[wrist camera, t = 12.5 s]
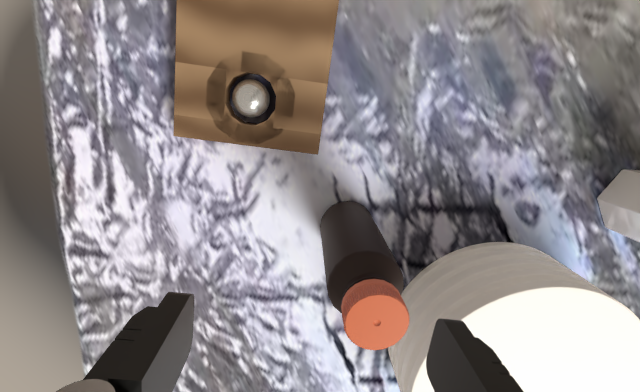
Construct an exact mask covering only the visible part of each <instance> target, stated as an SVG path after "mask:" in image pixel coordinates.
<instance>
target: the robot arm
mask: <svg viewBox="0 0 640 392" xmlns="http://www.w3.org/2000/svg"><path fill="white" fill-rule="evenodd" d="M193 320H194V295H193V294H187V293H177V292H168V293H167V294H166V296H165V297H164V299H163V300H162V301H161V303H160V304H159V306H158V307H146V308H144V309H143V310H141V311H140V312H138V313H137V314H135V315H134V316H132V318H131V319H130V320H129V321H128V323H127V324H126V325H125V327H124V328H123V331H121V332H120V333H119V334H118V335H117V337H116V338H115V341H113V342H112V343H111V344H110V346H109V347H108V348H107V350H106V351H105V352H104V353H103V355H102V356H101V357H100V359H99V360H98V361H97V362H96V364H95V365H94V366H93V368H92V369H91V370H90V371H89V373H88V374H87V375H86V377H85V378H84V379H83V380H81V381H77V382H74V383H72V384H69V385H67V386H65V387H63V388H61V389H59V390H58V391H56V392H172V391H173V389H174V387H175V384H176V382H177V380H178V378H179V375H180V373H181V371H182V369H183V367H184V364H185V362H186V360H187V358H188V355H189V352H190V349H191V344H192V338H193ZM426 369H427V374H428V378H429V380H430V382H431V385H432V387H433V389H434V391H435V392H524V391H523V390H522V389H521V387H520V386H519V385H518V383H517V382H516V381H515V379H514V378H513V377H512V376H510V372H509V371H508V370H507V368H506V367H505V366H504V365H502V362H501V360H500V359H499V357H498V356H497V355H496V353H495V352H494V351H493V349H492V348H490V347H489V346H488V345H487V344H485V343H484V342H483V341H482V340H481V339H479V338H475V337H474V336H473V334H472V333H471V331H470V330H469V329H468V327H467V326H466V324H465V323H464V322H463V321H461V320H451V319H438V320H437V321H436V324H435V327H434V331H433V335H432V339H431V342H430V346H429V350H428V354H427V359H426Z"/></svg>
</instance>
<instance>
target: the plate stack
mask: <svg viewBox="0 0 640 392" xmlns="http://www.w3.org/2000/svg"><path fill="white" fill-rule="evenodd" d="M401 297H402V299H403V301H404V303H405V305H406V307H407V309H408V312H409V318H410V319H409V320H410V321H409V323H410V324H409V326H408V329H407V331H406V333H405V335H404V336H403V337H402V338H401V339H400V340H399V341H398V342H397V343H395V344H394V345H393V346H390V347H388V352H389V357H390V360H391V363H392V366H393V369H394V372H395V376H396V379H397V381H398V385H399V388H400V391H401V392H435V391H434V389H433V387H432V385H431V382H430V380H429V378H428V374H427V369H426V359H427V354H428V350H429V346H430V342H431V339H432V335H433V331H434V327H435V324H436V321H437V320H438V319H451V320H461V321H463V322H464V323H465V324H466V326H467V327H468V329H469V330H470V331H471V333H472V334H473V336H474V337H475V338H479V339H481V340H482V341H483V342H484V343H485V344H487V345H488V346H489V347H490V348H492V349H493V351H494V352H495V353H496V355H497V356H498V357H499V359H500V360H501V362H502V365H504V366H505V367H506V368H507V370H508V371H509V372H510V376H512V377H513V378H514V379H515V381H516V382H517V383H518V385H519V386H520V387H521V389H522V390H523V391H524V392H640V320H639V318H638V317H637V316H636V315H635V314H634V313H633V312H632V311H631V310H630V309H628V308H627V307H626V306H624V305H623V304H622V303H620V302H619V301H617V300H616V299H614V298H612V297H611V296H609V295H607V294H606V293H605V292H603V291H602V290H600V289H599V288H597V287H596V286H594V285H593V284H591V283H589V282H588V281H587V280H585V279H584V278H582V277H581V276H579V275H578V274H576V273H574V272H573V271H572V270H570V269H569V268H567V267H566V266H564V265H563V264H561V263H559V262H558V261H556V260H555V259H553V258H552V257H550V256H549V255H547V254H546V253H544V252H542V251H540V250H538V249H535V248H533V247H530V246H526V245H522V244H517V243H510V242H488V243H481V244H476V245H471V246H468V247H464V248H461V249H458V250H456V251H453V252H451V253H449V254H447V255H445V256H443V257H441V258H439V259H438V260H436V261H434V262H433V263H431V264H430V265H429V266H427V267H426V268H425V269H423V270H422V271H421V272H420V273H419V274H418V275H417V276H416V277H415V278H414V279H413V280H412V281H411V282H410V283H409V284H408V286H407V287H406V288H405V289H404V291H403V292H402V294H401Z"/></svg>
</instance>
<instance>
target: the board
mask: <svg viewBox="0 0 640 392" xmlns="http://www.w3.org/2000/svg"><path fill="white" fill-rule="evenodd" d="M338 3H339V0H177V9H176V54H175V99H174V136H178V137H186V138H194V139H201V140H209V141H217V142H225V143H232V144H240V145H248V146H256V147H263V148H271V149H279V150H287V151H294V152H302V153H310V154H318V150H319V143H320V136H321V128H322V121H323V113H324V106H325V99H326V91H327V84H328V77H329V69H330V62H331V54H332V47H333V40H334V32H335V25H336V18H337V10H338ZM249 73H250V74H257V75H261V76H263V77H264V78H265V79H266V80H268V81H269V82H270V83H271V85H272V87H273V89H274V92H275V94H276V104H275V110H274V112H273V113H272V114H271V116H270V117H269V119H268V120H266V121H263V122H261V123H259V124H257V123H249V122H245V121H244V120H242V119H241V118H240V117H238V116H237V115H236V114H235V113H234V110H233V108H232V106H231V104H230V89H231V88H232V86H233V85H234V83H235V82H236V80H237V79H238V78H240V77H242V76H245V75H247V74H249Z"/></svg>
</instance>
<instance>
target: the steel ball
mask: <svg viewBox="0 0 640 392" xmlns="http://www.w3.org/2000/svg"><path fill="white" fill-rule="evenodd" d="M232 100H233V104H234V106H235V108H236V109H237V111H238V112H239V113H241V114H242V115H244V116H247V117H257V116H260V115H261V114H263V113H264V112H265V111H266V110H267V108H268V106H269V102H270V97H269V93H268V90H267V88H266V87H265V86H264V85H263V84H262V83H261V82H259V81H257V80H253V79H247V80H243V81H241V82H240V83H238V84H237V85H236V87H235V88H234V91H233V94H232Z"/></svg>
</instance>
